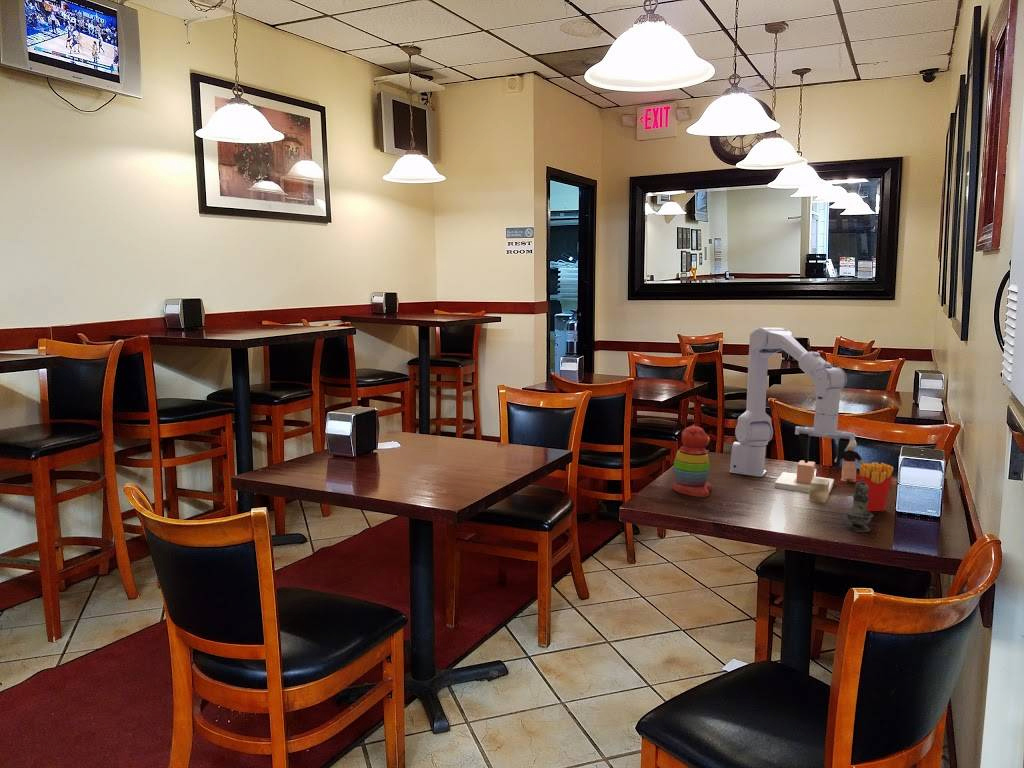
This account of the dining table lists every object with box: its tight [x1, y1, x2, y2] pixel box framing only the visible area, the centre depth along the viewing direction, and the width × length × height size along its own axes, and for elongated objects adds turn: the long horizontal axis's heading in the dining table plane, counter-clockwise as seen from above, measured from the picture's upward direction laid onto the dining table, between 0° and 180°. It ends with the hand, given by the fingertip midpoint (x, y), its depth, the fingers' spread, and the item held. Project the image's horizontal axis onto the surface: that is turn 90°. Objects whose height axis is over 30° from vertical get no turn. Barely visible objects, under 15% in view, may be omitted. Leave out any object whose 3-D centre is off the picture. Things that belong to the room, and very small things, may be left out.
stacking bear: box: [672, 424, 713, 498], centre depth 207 cm, size 11×10×18 cm
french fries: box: [856, 461, 894, 512], centre depth 196 cm, size 8×4×12 cm, turn 94°
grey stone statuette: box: [845, 479, 874, 533], centre depth 181 cm, size 6×6×12 cm
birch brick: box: [808, 478, 829, 504], centre depth 205 cm, size 4×6×5 cm, turn 152°
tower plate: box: [774, 471, 835, 497], centre depth 218 cm, size 14×14×2 cm
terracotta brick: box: [796, 459, 816, 484], centre depth 217 cm, size 4×6×5 cm, turn 153°
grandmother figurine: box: [834, 439, 864, 482], centre depth 224 cm, size 8×4×13 cm, turn 84°
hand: (821, 464), depth 204 cm, fingers open, 7 cm apart
